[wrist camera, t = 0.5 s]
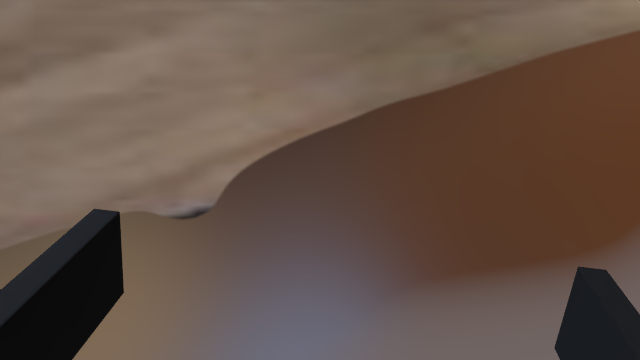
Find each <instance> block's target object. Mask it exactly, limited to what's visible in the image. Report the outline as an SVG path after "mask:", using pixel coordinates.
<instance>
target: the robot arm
mask: <svg viewBox="0 0 640 360" xmlns="http://www.w3.org/2000/svg"><path fill="white" fill-rule="evenodd" d="M123 293H124V289H123V269H122V251H121V229H120V212H117V211H108V210H100V209H93V210H92V211H91V212H90V213H89V214H88V215H86V216H85V217H84V218H83V219H82V220H81V221H80V222H78V223H77V224H76V225H75V226H74V227H73V228H71V229H70V230H69V231H68V232H67V233H66V234H65V235H63V236H62V237H61V238H60V239H59V240H58V241H56V242H55V243H54V244H53V245H52V246H51V247H50V248H48V249H47V250H46V251H45V252H44V253H43V254H42V255H40V256H39V257H38V258H37V259H36V260H35V261H33V262H32V263H31V264H30V265H29V266H28V267H27V268H25V269H24V270H23V271H22V272H21V273H20V274H18V276H16V277H15V278H14V279H13V280H12V281H10V282H9V283H8V284H7V285H6V286H5V287H4V288H2V289H0V360H72V359H73V358H74V357H75V355H76V354H77V353H78V351H79V350H80V349H81V347H82V346H83V345H84V344H85V342H86V341H87V340H88V338H89V337H90V336H91V334H92V333H93V332H94V331H95V329H96V328H97V327H98V325H99V324H100V323H101V321H102V320H103V319H104V318H105V316H106V315H107V314H108V312H109V311H110V310H111V308H112V307H113V306H114V304H115V303H116V302H117V301H118V299H119V298H120V297H121V295H122V294H123ZM555 350H556V352H557V354H558V356H559V358H560V360H640V315H639V313H638V312H637V311H636V309H635V308H634V307H633V305H632V304H631V303H630V301H629V300H628V299H627V297H626V296H625V294H624V293H623V292H622V290H621V289H620V288H619V286H618V285H617V284H616V282H615V281H614V280H613V278H612V277H611V276H610V274H608V272H607V271H606V270H601V269H593V268H584V267H578V269H577V272H576V276H575V279H574V282H573V286H572V290H571V293H570V296H569V300H568V303H567V307H566V310H565V313H564V317H563V321H562V324H561V327H560V331H559V334H558V338H557V341H556V344H555Z"/></svg>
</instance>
